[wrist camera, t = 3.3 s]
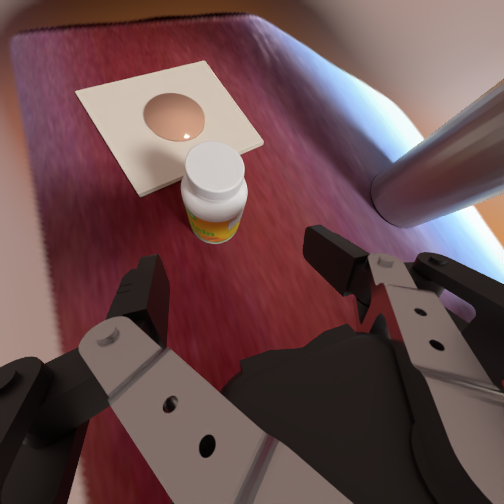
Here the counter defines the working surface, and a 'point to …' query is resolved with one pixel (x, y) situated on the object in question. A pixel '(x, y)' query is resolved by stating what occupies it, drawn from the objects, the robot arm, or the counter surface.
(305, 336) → the counter surface
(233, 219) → the supplement bottle
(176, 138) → the coaster
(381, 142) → the counter surface
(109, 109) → the mat
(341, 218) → the counter surface
